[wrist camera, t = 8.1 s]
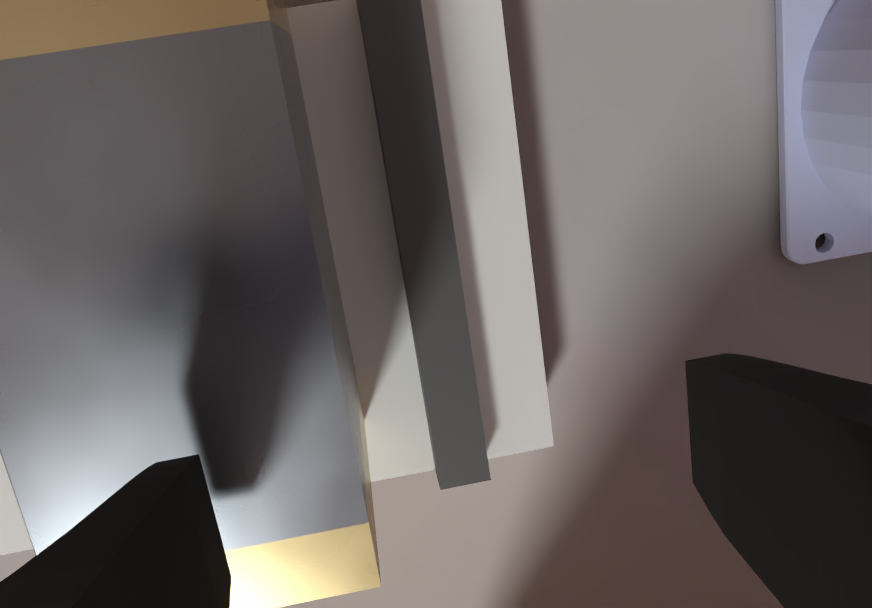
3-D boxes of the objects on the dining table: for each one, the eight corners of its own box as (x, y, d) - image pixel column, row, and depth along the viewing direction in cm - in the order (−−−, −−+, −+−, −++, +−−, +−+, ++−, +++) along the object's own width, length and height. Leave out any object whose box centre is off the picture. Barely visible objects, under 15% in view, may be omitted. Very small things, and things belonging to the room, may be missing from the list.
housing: (364, 419, 19) (380, 586, 13) (153, 459, 19) (68, 650, 13) (279, -28, 16) (250, -79, 10) (26, 9, 16) (-162, -23, 10)
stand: (481, -16, 19) (508, -30, 16) (534, 412, 22) (564, 464, 19) (-145, 79, 18) (-235, 82, 15) (8, 514, 21) (-41, 585, 18)
